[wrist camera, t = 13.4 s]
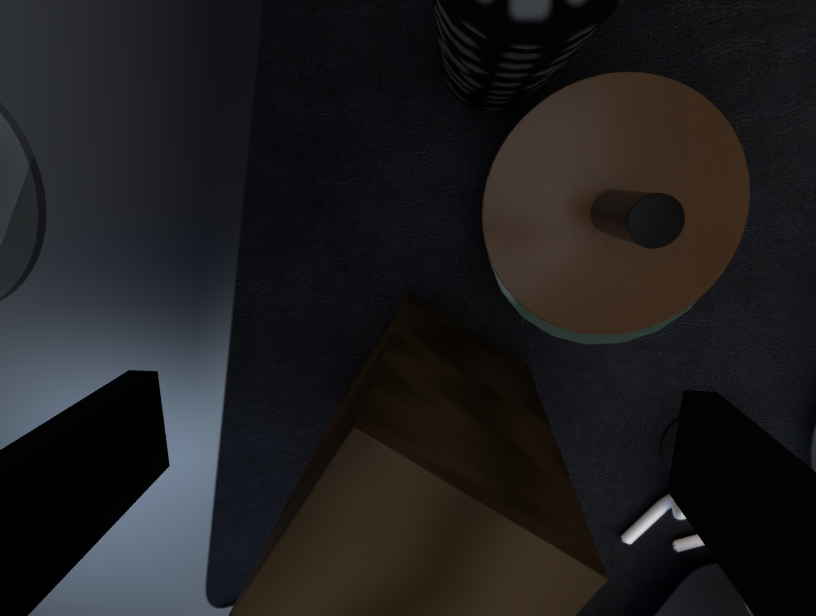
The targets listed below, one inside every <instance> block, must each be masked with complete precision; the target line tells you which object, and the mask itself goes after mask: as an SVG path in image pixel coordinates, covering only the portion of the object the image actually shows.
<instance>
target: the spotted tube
mask: <svg viewBox="0 0 816 616" xmlns="http://www.w3.org/2000/svg"><path fill="white" fill-rule="evenodd" d="M622 1H623V0H432V3H433V10H434V17H435V24H436V31H437V38H438V45H439V52H440V59H441V65H442V70H443V75H444V77H445V79H446V82H447V84H448V86H449V87H450V89H451V90H452V92H453V93H454V95H455V96H456V97H457V98H458V99H460V100H461V101H462V102H463V103H464V104H466V105H468V106H469V107H471V108H473V109H476V110H479V111H482V112H489V113H498V112H505V111H509V110H513V109H515V108H517V107H519V106H521V105H523V104H524V103H526V102H527V101H528V100H530V99H531V98H532V97H533V96H534V95H535V94H536V93H537V92H538V91H539V90H540V89H541V88H542V87H543V86H544V85H545V83H546V82H547V81H548V80H549V79H550V78H551V77H552V76H553V75H554V74H555V73H556V72H557V71H558V70H559V69H560V68H561V67H562V65H563V64H564V63H565V62H566V61H567V60H568V59H569V58H570V57H571V56H572V55H573V54H574V53H575V52H576V51H577V50H578V48H579V47H580V46H581V45H582V44H583V43H584V42H585V41H586V40H587V39H588V38H589V37H590V36H591V35H592V34H593V33H594V32H595V30H596V29H597V28H598V27H599V26H600V25H601V24H602V23H603V22H604V21H605V20H606V19H607V18H608V17H609V16H610V14H611V13H612V12H613V11H614V10H615V9H616V8H617V7H618V6H619V5H620V4H621V2H622Z"/></svg>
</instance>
